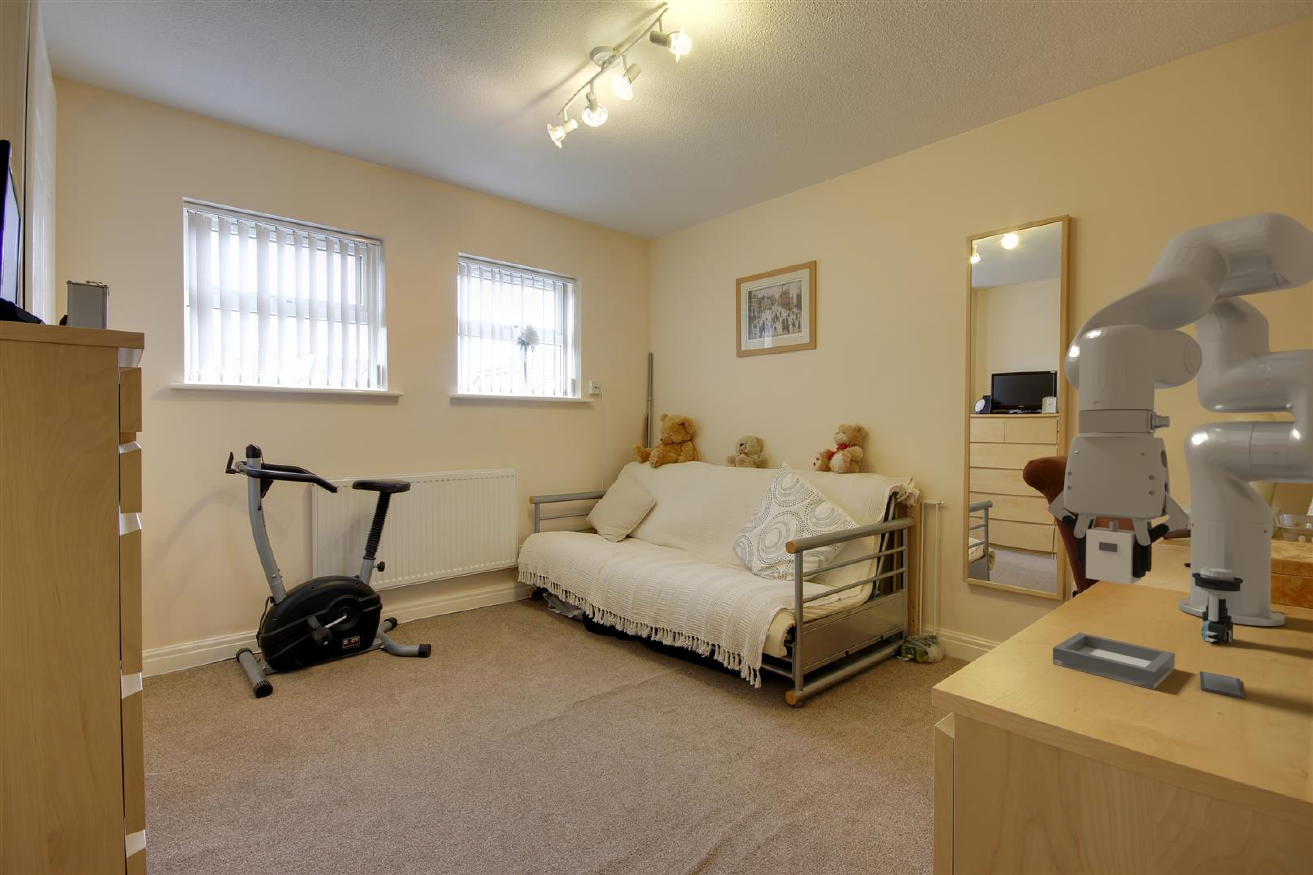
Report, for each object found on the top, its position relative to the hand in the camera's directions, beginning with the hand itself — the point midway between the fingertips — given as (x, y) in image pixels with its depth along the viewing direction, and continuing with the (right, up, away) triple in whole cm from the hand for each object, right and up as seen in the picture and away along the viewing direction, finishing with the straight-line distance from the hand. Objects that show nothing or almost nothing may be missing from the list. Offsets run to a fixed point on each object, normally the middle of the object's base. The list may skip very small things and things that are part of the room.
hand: (1113, 571), depth 75 cm
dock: (0, -12, 0) cm, 12 cm away
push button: (+22, -12, +11) cm, 28 cm away
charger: (0, -1, 0) cm, 1 cm away
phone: (+8, -13, -5) cm, 16 cm away
